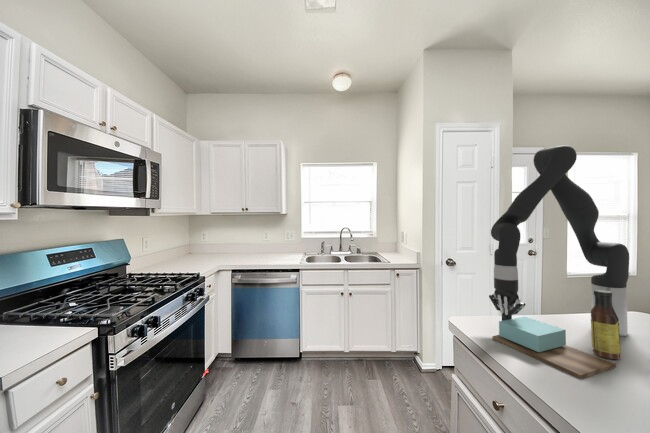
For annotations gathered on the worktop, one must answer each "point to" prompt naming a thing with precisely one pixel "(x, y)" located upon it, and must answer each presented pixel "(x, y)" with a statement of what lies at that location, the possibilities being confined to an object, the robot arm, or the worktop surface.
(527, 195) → the robot arm
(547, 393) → the worktop surface
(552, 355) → the walnut board
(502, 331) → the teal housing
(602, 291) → the sauce bottle
